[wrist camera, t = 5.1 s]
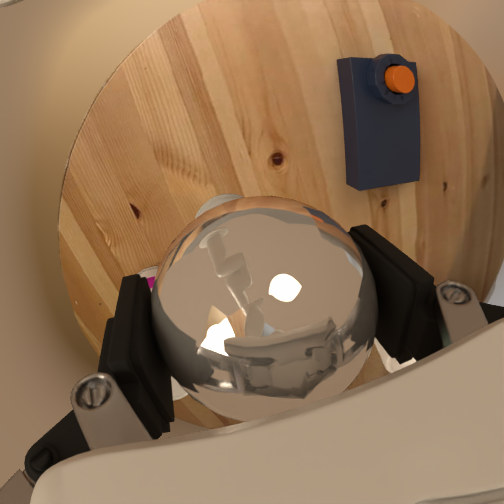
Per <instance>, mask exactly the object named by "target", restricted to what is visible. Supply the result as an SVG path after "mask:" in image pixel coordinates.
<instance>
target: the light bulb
mask: <svg viewBox="0 0 504 504" xmlns="http://www.w3.org/2000/svg"><path fill="white" fill-rule="evenodd" d="M378 312H379V310H378V299H377V291H376V285H375V280H374V277H373V274H372V272H371V270H370V267H369V265H368V263H367V261H366V258H365V256H364V254H363V252H362V250H361V248H360V247H359V246H358V245H357V243H356V242H355V241H354V240H353V239H352V238H351V236H350V235H349V234H348V233H347V232H346V231H345V230H344V228H343V227H342V226H341V225H340V224H339V223H338V222H336V221H335V220H334V219H332V218H331V217H329V216H328V215H326V214H325V213H323V212H322V211H320V210H318V209H316V208H314V207H313V206H310V205H308V204H305V203H302V202H300V201H297V200H294V199H289V198H283V197H276V196H253V197H243V196H240V195H237V194H222V195H218V196H215V197H213V198H211V199H210V200H208V201H207V202H206V203H205V204H204V205H202V207H201V208H200V209H199V211H198V212H197V215H196V217H195V219H194V220H193V221H192V222H191V223H189V224H188V225H187V226H186V227H185V228H184V229H183V231H182V232H181V233H180V234H179V235H178V236H177V237H176V239H175V240H174V241H173V242H172V243H171V244H170V245H169V247H168V249H167V251H166V253H165V254H164V256H163V258H162V260H161V262H160V263H159V266H158V270H157V273H156V277H155V280H154V284H153V288H152V292H151V304H150V316H151V325H152V331H153V336H154V339H155V343H156V347H157V349H158V351H159V354H160V356H161V358H162V360H163V362H164V364H165V366H166V367H167V369H168V371H169V373H170V374H171V376H172V377H173V378H174V379H175V380H176V382H177V383H178V384H179V385H180V386H181V387H182V388H183V389H184V390H185V391H186V392H187V393H188V394H189V395H190V396H191V397H192V398H193V399H194V400H196V401H198V402H199V403H201V404H202V405H204V406H206V407H207V408H209V409H211V410H213V411H214V412H216V413H218V414H220V415H222V416H225V417H228V418H231V419H235V420H240V421H244V422H248V421H252V420H256V419H260V418H264V417H267V416H271V415H275V414H278V413H282V412H285V411H288V410H292V409H295V408H298V407H302V406H305V405H308V404H311V403H314V402H317V401H320V400H323V399H326V398H329V397H332V396H335V395H337V394H340V393H343V392H344V391H345V390H346V389H347V388H348V387H349V386H350V385H351V384H352V382H353V381H354V380H355V379H356V377H357V376H358V374H359V372H360V371H361V369H362V367H363V365H364V364H365V362H366V360H367V358H368V356H369V354H370V352H371V349H372V346H373V343H374V339H375V334H376V329H377V323H378Z"/></svg>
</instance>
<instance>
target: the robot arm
mask: <svg viewBox="0 0 504 504" xmlns="http://www.w3.org/2000/svg"><path fill="white" fill-rule="evenodd" d="M347 233H348V234H349V235H350V236H351V238H352V239H353V240H354V241H355V242H356V243H357V245H358V246H359V247H360V248H361V250H362V252H363V254H364V256H365V258H366V261H367V263H368V265H369V267H370V270H371V272H372V274H373V277H374V280H375V285H376V291H377V299H378V310H379V312H378V323H377V329H376V334H375V338H376V339H377V340H378V342H379V343H380V344H381V346H382V347H383V348H384V350H385V351H386V352H387V354H388V355H389V356H390V357H391V358H395V359H396V360H397V361H398V363H399V364H400V365H401V364H403V363H405V362H407V361H409V360H412V358H414V359H415V360H416V362H415V363H413V364H411V365H408V366H406V367H404V368H402V369H400V370H397V371H395V372H393V373H390V374H388V375H386V376H383V377H381V378H379V379H376V380H374V381H371V382H369V383H366V384H364V385H361V386H359V387H356V388H354V389H351V390H348V391H346V392H343V393H340V394H337V395H335V396H332V397H329V398H326V399H323V400H320V401H317V402H314V403H311V404H308V405H305V406H302V407H298V408H295V409H292V410H288V411H285V412H282V413H278V414H275V415H271V416H267V417H264V418H260V419H256V420H252V421H248V422H244V423H240V424H236V425H231V426H227V427H222V428H217V429H212V430H207V431H202V432H198V433H192V434H186V435H181V436H175V437H169V438H163V439H158V438H159V437H160V436H161V435H162V433H165V432H170V424H169V422H174V407H173V395H172V381H171V374H170V373H169V371H168V369H167V367H166V366H165V364H164V362H163V360H162V358H161V356H160V354H159V351H158V349H157V347H156V343H155V339H154V336H153V331H152V325H151V316H150V304H151V290H150V287H149V284H148V281H147V278H146V277H141V276H140V275H139V274H135V275H130V276H126V277H123V279H122V283H121V287H120V292H119V297H118V301H117V306H116V311H115V316H114V317H113V318H109V319H108V321H107V324H106V329H105V334H104V339H103V344H102V349H101V355H100V360H99V367H98V372H97V373H92V374H89V375H87V376H85V377H83V378H82V379H80V380H79V381H78V382H77V383H76V384H75V386H74V388H73V389H72V392H71V397H70V399H71V404H72V407H73V410H72V411H71V412H70V413H69V414H67V416H65V417H64V418H63V419H62V420H61V421H60V422H58V423H57V424H56V425H55V426H54V427H53V428H52V429H51V430H49V431H48V432H47V433H46V434H45V435H44V436H43V437H42V438H41V439H39V440H38V441H37V442H36V443H35V444H34V445H33V446H32V447H31V448H30V449H29V451H28V453H27V454H26V457H25V470H24V471H23V472H22V471H21V470H20V469H19V470H18V471H17V472H16V473H15V474H14V475H13V476H12V477H11V478H10V479H9V480H8V481H7V483H5V485H4V486H3V487H2V488H1V489H0V504H504V307H501V306H496V305H491V304H486V303H481V302H478V300H477V298H476V295H475V293H474V292H473V290H472V289H471V288H470V287H468V286H467V285H465V284H463V283H461V282H457V281H444V282H441V283H440V284H439V285H437V287H436V286H435V285H434V284H433V282H434V277H433V276H431V275H430V274H429V273H428V272H426V271H425V270H424V269H423V268H422V267H420V266H419V265H418V264H417V263H415V262H414V261H413V260H412V259H411V258H409V257H408V256H407V255H406V254H404V253H403V252H402V251H400V250H399V249H398V248H397V247H395V246H394V245H393V244H391V243H390V242H389V241H388V240H386V239H385V238H384V237H382V236H381V235H380V234H378V233H377V232H376V231H374V230H373V229H372V228H370V227H369V226H368V225H366V224H365V225H360V226H355V227H351V229H350V232H347Z"/></svg>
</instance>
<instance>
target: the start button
mask: <svg viewBox="0 0 504 504" xmlns="http://www.w3.org/2000/svg"><path fill="white" fill-rule="evenodd" d="M384 79H385V83H386V85H387V87H388V88H389V89H390V90H391V91H393V92H397V93H408V92H410V91H411V90H412V89H413V87H414V84H415V80H414V75H413V73H412V72H411V70H410V69H409V68H407V67H406V66H391V67H389V68H388V69H387V70H386V71H385V75H384Z"/></svg>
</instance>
